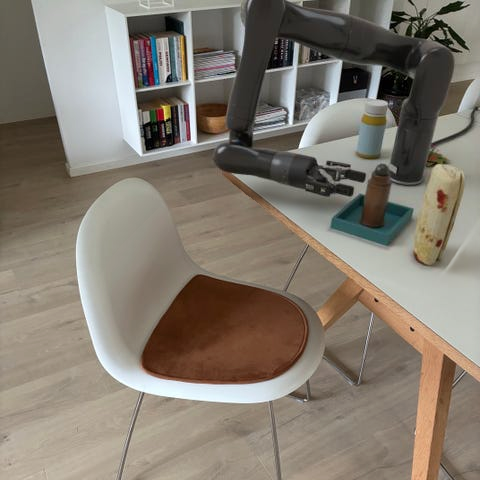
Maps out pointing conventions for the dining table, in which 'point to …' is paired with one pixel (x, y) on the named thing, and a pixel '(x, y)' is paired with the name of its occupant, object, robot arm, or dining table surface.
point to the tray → (350, 224)
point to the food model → (438, 213)
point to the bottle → (372, 129)
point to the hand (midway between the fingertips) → (359, 184)
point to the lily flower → (435, 157)
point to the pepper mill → (376, 198)
